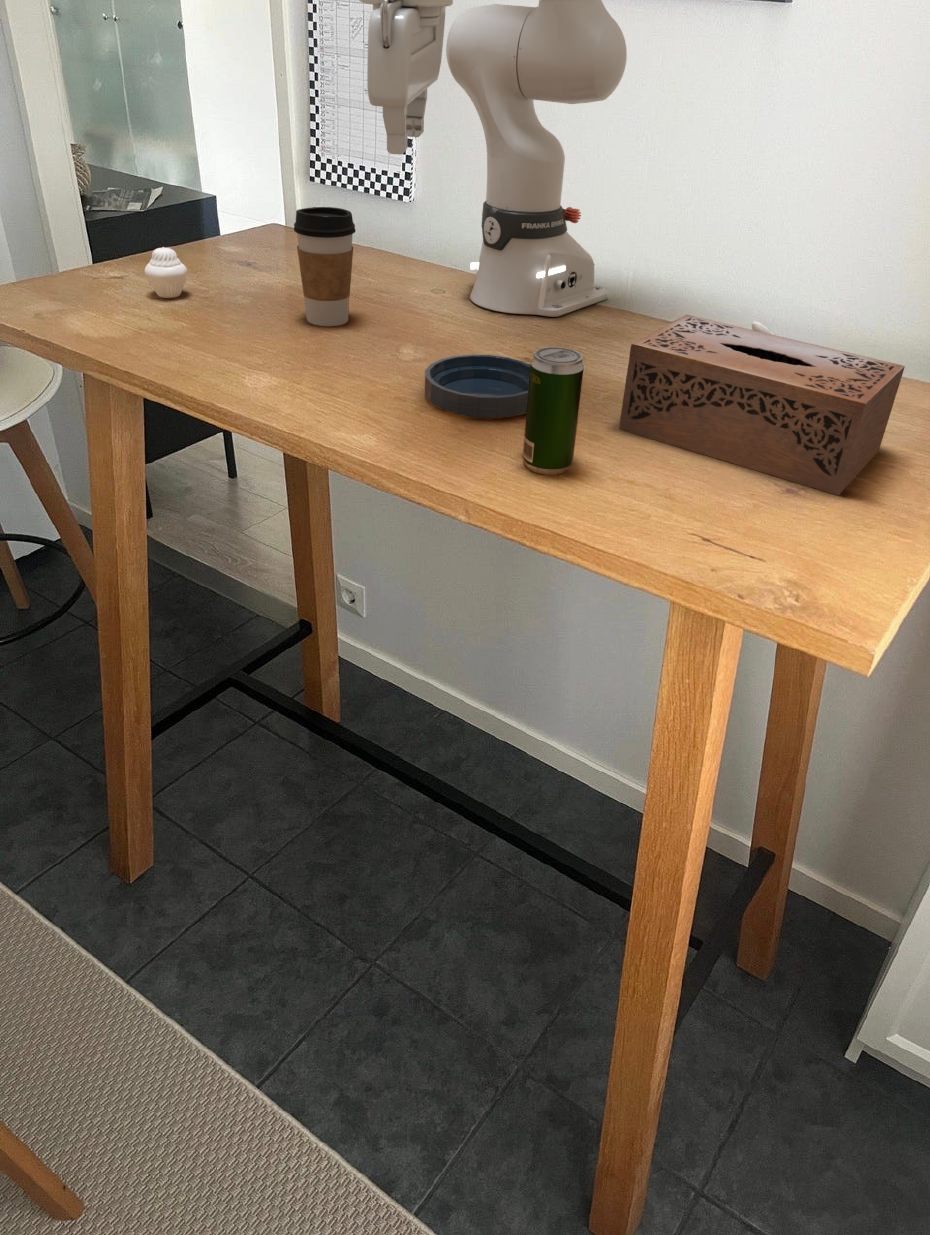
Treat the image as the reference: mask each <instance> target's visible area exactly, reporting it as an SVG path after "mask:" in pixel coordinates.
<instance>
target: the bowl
mask: <svg viewBox="0 0 930 1235" xmlns="http://www.w3.org/2000/svg"><path fill="white" fill-rule="evenodd" d="M530 365H531V364H529V363H527V362H524V361H522V360H519V359H515V358H511V357H507V356H499V355H493V354H461V355H453V356H449V357H444V358H440V359H439V360H435V361H434V362H432V363H429V365H428V366H427V367H426V369H425V370H424V397H425V399H426V400H427V401H428V402H429V403H430V404H431V405H433V406H434V407H436V408H438V409H440V410H442V411H445V412H448V413H451V414H455V415H458V416H462V417H466V418H473V419H484V420H485V419H487V420H489V419H493V420H494V419H504V418H512V417H518V416H521V415H523V414H526V411H527V399H528V388H529V376H530Z"/></svg>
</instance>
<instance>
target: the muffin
mask: <svg viewBox="0 0 930 1235" xmlns="http://www.w3.org/2000/svg"><path fill="white" fill-rule="evenodd" d="M144 275H145V277H146V278H147V281H148V283H149V284H150V286H151V288H152V289H153V291H155V293H156V295H157V296H158V297H159V298H164V299H172V298H173V299H174V298H178V297H180V296H181V294H182V291H183V289H184V286H185V284H186V281H187V275H188V268H187V266H186V265H185V264H183V262H181V260H180V258H178V255H177V252H176V251H175V250H174V249H172V248H170V247H165V246H162V247H158V248H155V249H154V250H153V251H152V252H151V259H150V260H149V262H148V263H147V264H146V265H145V267H144Z"/></svg>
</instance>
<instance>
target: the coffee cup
mask: <svg viewBox="0 0 930 1235" xmlns="http://www.w3.org/2000/svg"><path fill="white" fill-rule="evenodd" d="M293 231H294V232H295V233H296V235H297V236H296V238H297V246H296V250H297V257H298V264H299V270H300V272H299V273H300V279H301V287H302V292H303V299H304V306H305V307H304V308H305V309H304V310H305V316H306V320H307V322H308V323H309V324H310V325H314V326H318V327H337V326H342V325H345V324H347V323H348V321H349V314H350V311H349V310H350V295H351V284H352V272H353V270H352V269H353V256H354V246H353V235H354V234H355V233H356V224H355V223H354V219H353V214H352V212H351V211H350V210H347V209H345V208H341V207H334V206H333V207H332V206H313V207H312V206H311V207H305V208H300V209H297V210H296V211H295V222H294V223H293Z"/></svg>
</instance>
